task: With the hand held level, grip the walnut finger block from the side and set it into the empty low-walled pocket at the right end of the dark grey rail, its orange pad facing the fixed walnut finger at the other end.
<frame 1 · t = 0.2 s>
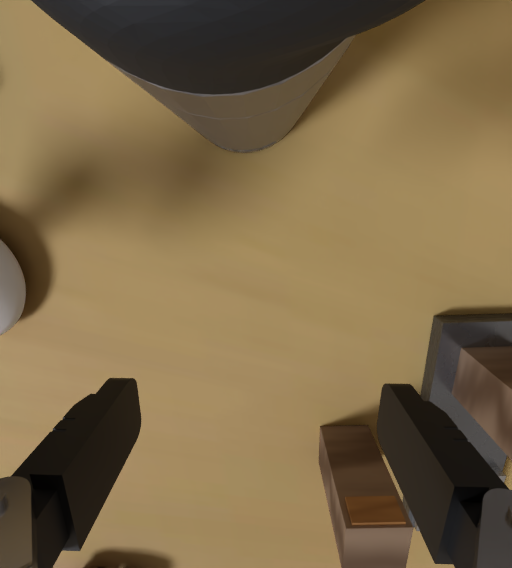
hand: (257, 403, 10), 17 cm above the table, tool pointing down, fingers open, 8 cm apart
rail: (458, 426, 32), on the table
walnut finger: (342, 444, 33), on the table
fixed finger: (472, 361, 30), resting on rail
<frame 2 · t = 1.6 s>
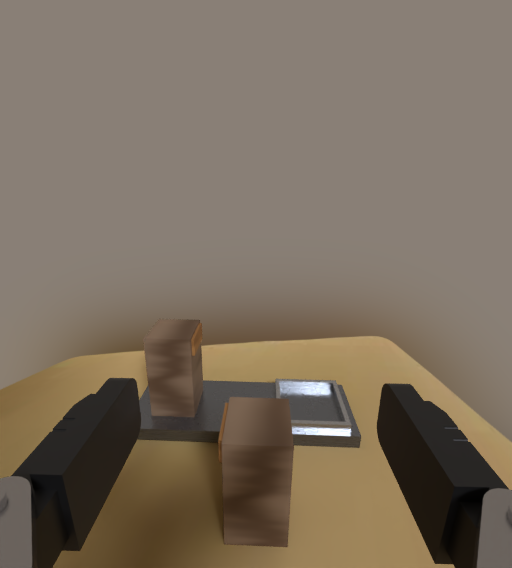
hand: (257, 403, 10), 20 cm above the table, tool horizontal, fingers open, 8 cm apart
rail: (243, 414, 38), on the table
walnut finger: (256, 513, 27), on the table
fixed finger: (179, 412, 38), resting on rail
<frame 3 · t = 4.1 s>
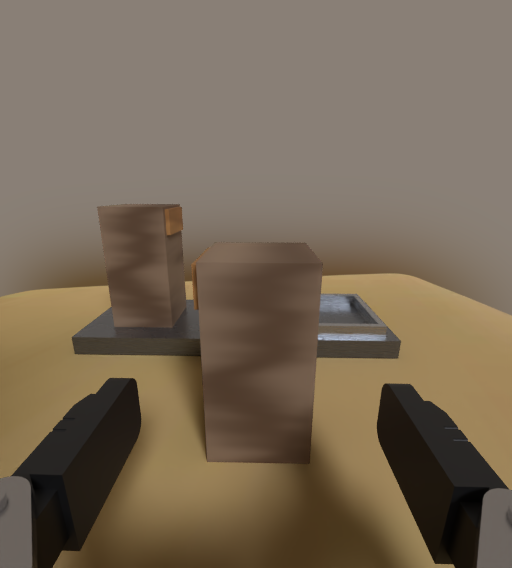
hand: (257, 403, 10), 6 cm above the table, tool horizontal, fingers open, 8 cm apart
rail: (239, 331, 29), on the table
walnut finger: (258, 425, 17), on the table
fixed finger: (154, 330, 29), resting on rail
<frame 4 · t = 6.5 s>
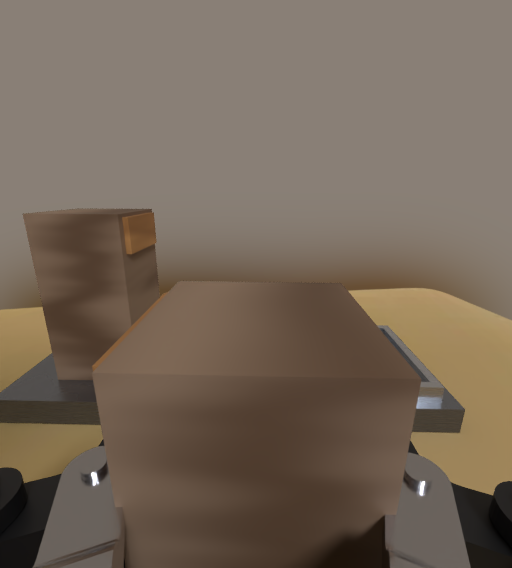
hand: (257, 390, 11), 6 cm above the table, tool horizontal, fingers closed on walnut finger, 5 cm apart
rail: (232, 379, 21), on the table
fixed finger: (119, 377, 22), resting on rail
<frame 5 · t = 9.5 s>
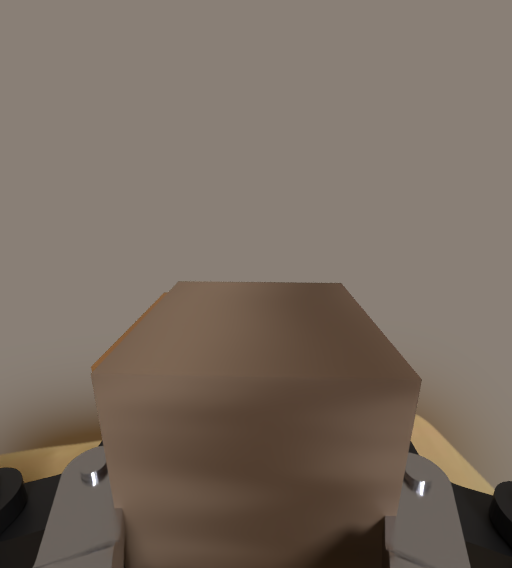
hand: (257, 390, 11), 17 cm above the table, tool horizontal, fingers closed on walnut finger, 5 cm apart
when the fingers open (8 cm above the table, at t = 12.3 s): walnut finger stays where it is, resting on rail.
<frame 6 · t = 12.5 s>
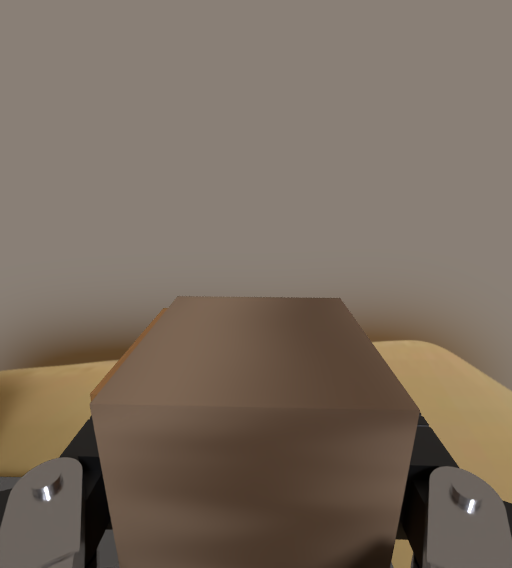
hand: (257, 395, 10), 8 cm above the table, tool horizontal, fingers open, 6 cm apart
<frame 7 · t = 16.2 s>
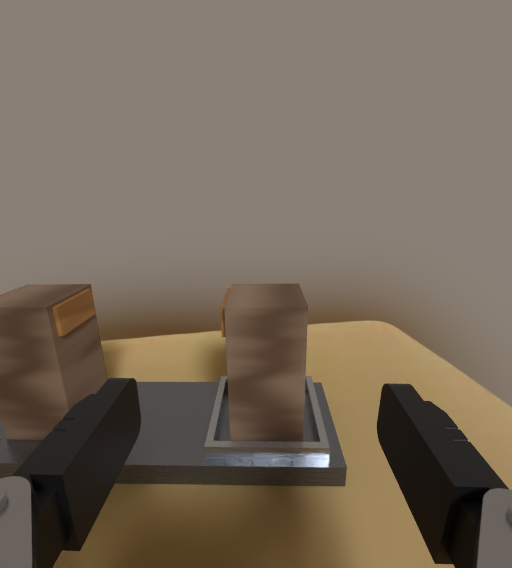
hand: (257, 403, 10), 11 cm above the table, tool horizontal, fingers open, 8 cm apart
rail: (165, 431, 24), on the table
walnut finger: (266, 417, 23), point 1 cm above the table, touching rail
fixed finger: (66, 431, 24), resting on rail
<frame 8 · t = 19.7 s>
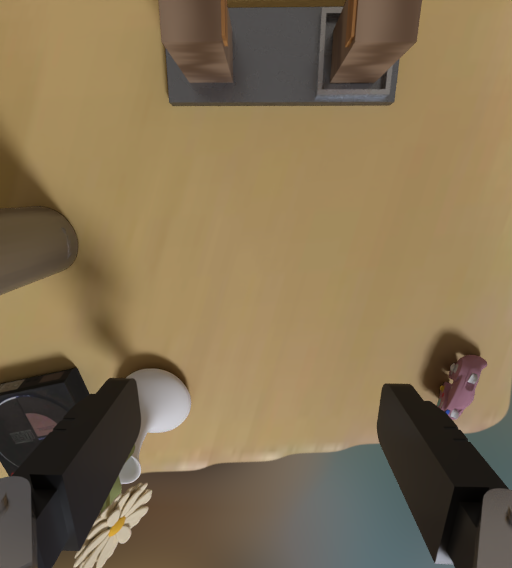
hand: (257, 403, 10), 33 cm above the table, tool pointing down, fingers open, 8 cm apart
flower in vase: (161, 389, 49), on the table
rail: (281, 62, 35), on the table
walnut finger: (354, 57, 34), point 1 cm above the table, touching rail
portable cd player: (54, 416, 52), on the table
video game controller: (449, 376, 47), on the table
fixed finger: (212, 62, 36), resting on rail
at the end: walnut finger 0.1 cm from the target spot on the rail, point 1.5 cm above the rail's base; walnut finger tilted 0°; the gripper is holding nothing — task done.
